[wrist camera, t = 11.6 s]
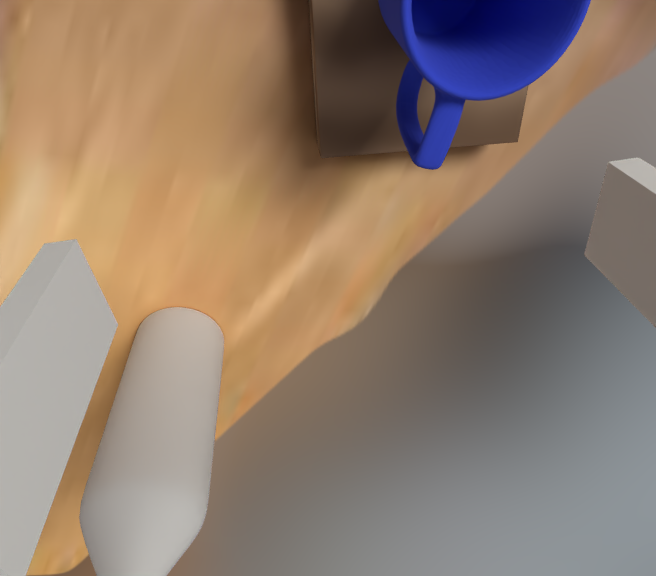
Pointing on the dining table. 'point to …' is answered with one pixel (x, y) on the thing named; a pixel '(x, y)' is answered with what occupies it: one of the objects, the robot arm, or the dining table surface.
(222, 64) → the dining table surface
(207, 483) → the bottle
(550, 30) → the mug
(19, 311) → the robot arm
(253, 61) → the dining table surface
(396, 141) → the board
